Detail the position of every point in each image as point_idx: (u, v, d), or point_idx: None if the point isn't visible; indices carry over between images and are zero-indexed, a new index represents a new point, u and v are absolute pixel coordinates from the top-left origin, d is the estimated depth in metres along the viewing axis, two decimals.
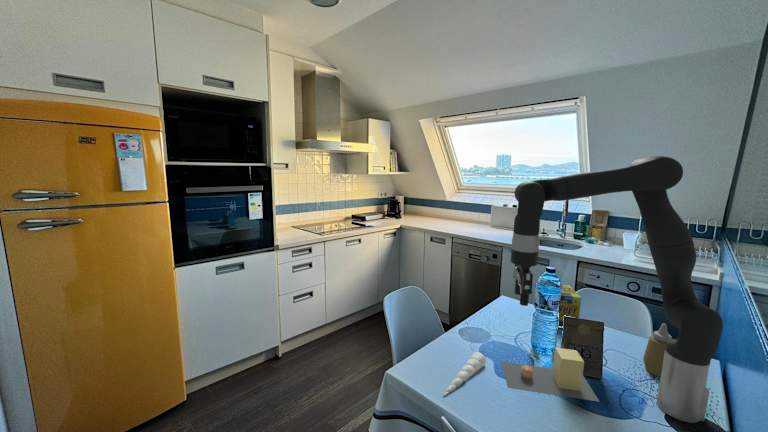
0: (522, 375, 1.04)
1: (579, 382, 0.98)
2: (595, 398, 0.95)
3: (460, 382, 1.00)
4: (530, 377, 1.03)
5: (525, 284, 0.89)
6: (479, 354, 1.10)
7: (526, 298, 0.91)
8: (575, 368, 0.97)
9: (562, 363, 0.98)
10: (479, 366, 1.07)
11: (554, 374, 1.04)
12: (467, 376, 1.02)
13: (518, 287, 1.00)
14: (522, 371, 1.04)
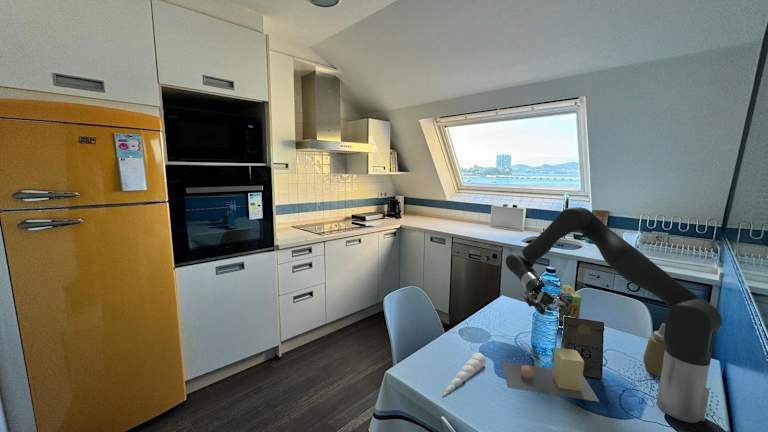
0: (522, 375, 1.04)
1: (579, 382, 0.98)
2: (595, 398, 0.95)
3: (460, 382, 1.00)
4: (530, 377, 1.03)
5: (526, 300, 1.14)
6: (479, 354, 1.10)
7: (537, 306, 1.09)
8: (575, 368, 0.97)
9: (562, 363, 0.98)
10: (479, 366, 1.07)
11: (554, 374, 1.04)
12: (467, 376, 1.02)
13: (563, 310, 1.09)
14: (522, 371, 1.04)
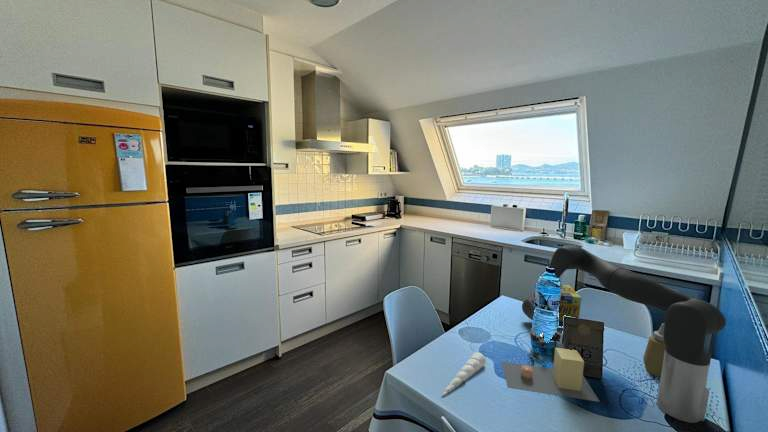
0: (522, 375, 1.04)
1: (579, 382, 0.98)
2: (595, 398, 0.95)
3: (459, 382, 1.00)
4: (530, 377, 1.03)
5: (531, 335, 1.20)
6: (479, 354, 1.10)
7: (539, 340, 1.15)
8: (575, 368, 0.97)
9: (562, 363, 0.98)
10: (479, 366, 1.07)
11: (554, 374, 1.04)
12: (467, 376, 1.02)
13: None
14: (522, 371, 1.04)
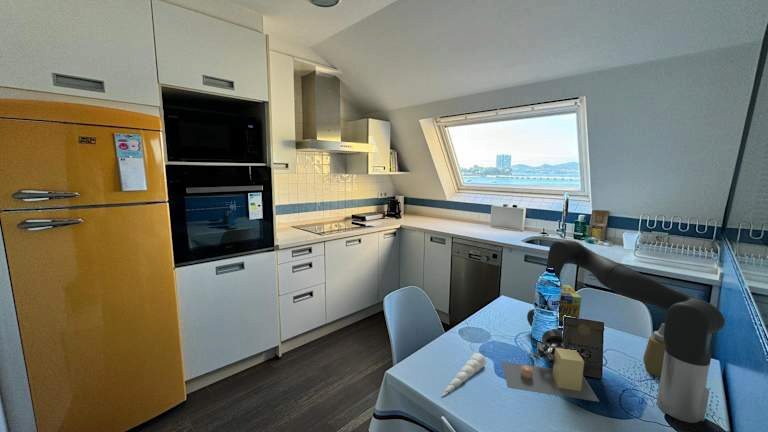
0: (522, 375, 1.04)
1: (579, 382, 0.98)
2: (595, 398, 0.95)
3: (459, 383, 1.00)
4: (530, 377, 1.03)
5: (538, 351, 1.10)
6: (479, 355, 1.09)
7: (547, 356, 1.05)
8: (575, 368, 0.97)
9: (562, 363, 0.98)
10: (479, 367, 1.06)
11: (554, 374, 1.04)
12: (467, 376, 1.02)
13: None
14: (522, 371, 1.04)
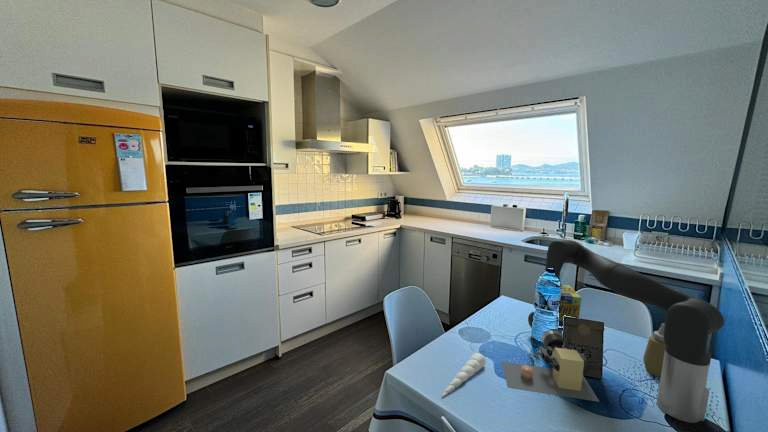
0: (522, 375, 1.04)
1: (579, 382, 0.98)
2: (595, 398, 0.95)
3: (459, 383, 0.99)
4: (530, 377, 1.03)
5: (541, 356, 1.07)
6: (479, 355, 1.09)
7: (552, 362, 1.02)
8: (575, 368, 0.97)
9: (562, 363, 0.98)
10: (479, 367, 1.06)
11: (554, 375, 1.04)
12: (467, 377, 1.02)
13: None
14: (522, 371, 1.04)
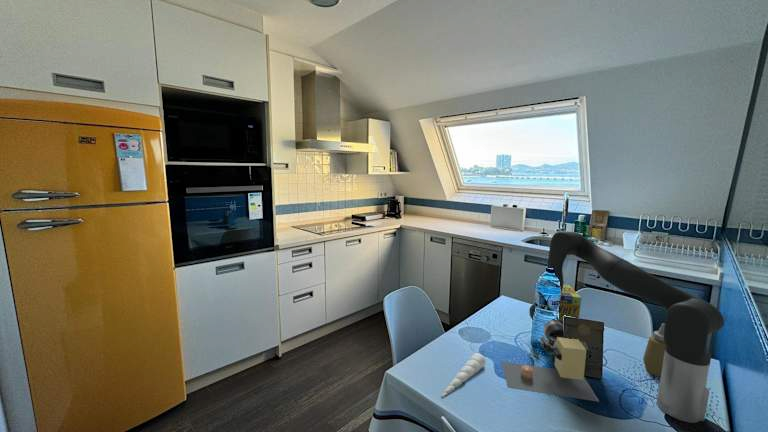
0: (522, 375, 1.04)
1: (581, 371, 0.97)
2: (595, 398, 0.95)
3: (459, 383, 0.99)
4: (530, 377, 1.03)
5: (543, 346, 1.06)
6: (479, 355, 1.09)
7: (554, 351, 1.01)
8: (577, 357, 0.97)
9: (565, 351, 0.97)
10: (478, 367, 1.06)
11: (556, 364, 1.03)
12: (466, 377, 1.02)
13: None
14: (522, 371, 1.04)
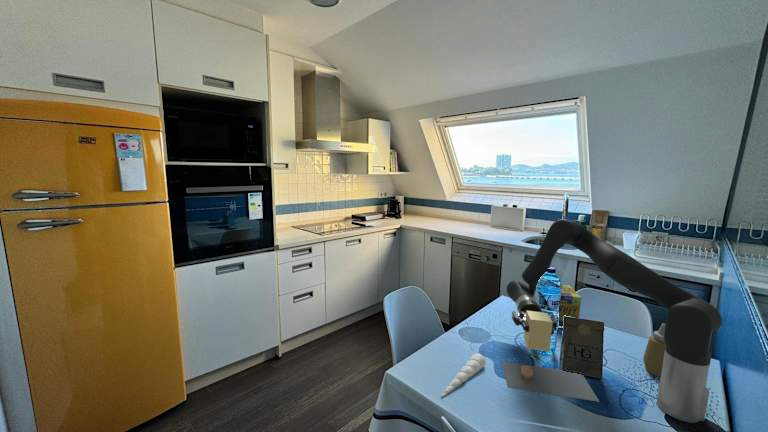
0: (522, 375, 1.04)
1: (547, 343, 0.99)
2: (595, 398, 0.95)
3: (458, 383, 0.99)
4: (530, 377, 1.03)
5: (513, 319, 1.08)
6: (479, 355, 1.09)
7: (522, 324, 1.03)
8: (544, 329, 0.98)
9: (531, 323, 0.99)
10: (478, 367, 1.06)
11: (525, 337, 1.05)
12: (466, 377, 1.02)
13: None
14: (522, 371, 1.04)
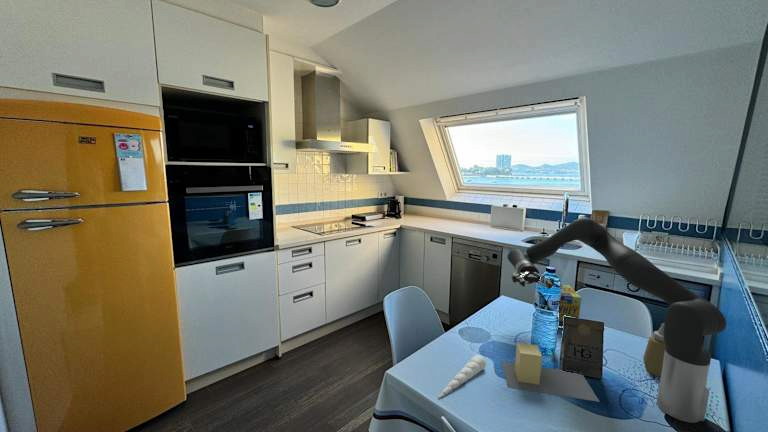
0: None
1: (537, 376, 1.00)
2: (595, 398, 0.95)
3: (457, 384, 0.99)
4: None
5: (512, 278, 1.21)
6: (479, 357, 1.08)
7: (519, 280, 1.16)
8: (533, 362, 1.00)
9: (521, 357, 1.01)
10: (478, 369, 1.05)
11: (515, 369, 1.06)
12: (465, 378, 1.01)
13: (546, 284, 1.14)
14: None
